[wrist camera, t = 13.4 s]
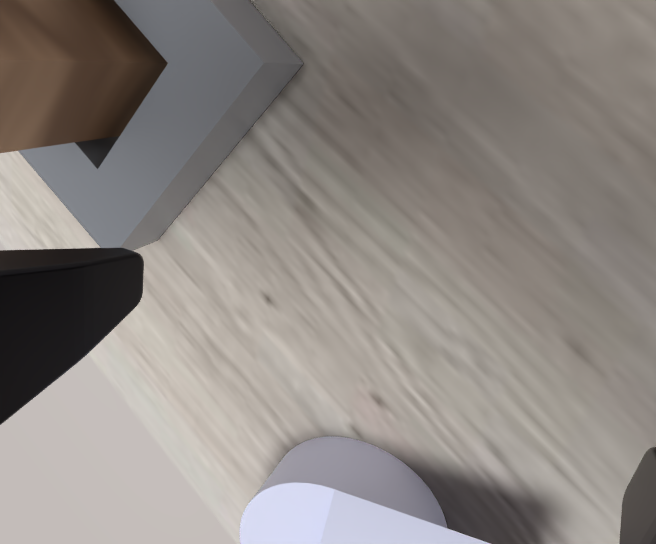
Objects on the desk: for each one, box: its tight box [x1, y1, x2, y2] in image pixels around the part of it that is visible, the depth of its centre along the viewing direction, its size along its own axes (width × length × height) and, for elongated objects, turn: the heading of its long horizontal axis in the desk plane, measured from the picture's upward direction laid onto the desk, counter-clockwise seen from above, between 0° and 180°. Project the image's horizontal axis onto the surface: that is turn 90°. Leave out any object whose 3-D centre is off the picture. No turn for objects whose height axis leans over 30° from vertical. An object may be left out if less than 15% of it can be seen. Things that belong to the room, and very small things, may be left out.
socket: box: [18, 0, 304, 251], centre depth 22 cm, size 11×11×3 cm
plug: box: [0, 0, 168, 153], centre depth 18 cm, size 4×4×12 cm
